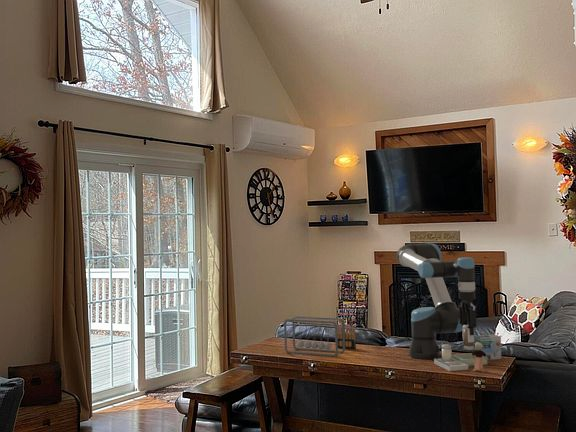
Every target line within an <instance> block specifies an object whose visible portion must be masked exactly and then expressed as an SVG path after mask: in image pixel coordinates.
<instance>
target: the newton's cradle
mask: <svg viewBox="0 0 576 432" xmlns="http://www.w3.org/2000/svg"><path fill="white" fill-rule="evenodd" d="M287 322H292V347H293V348H294V349H292V350H288V345H287V343H288V340H287V339H288V338H287ZM296 322H297V323H302V324H301V325H303V323H305V326H307V324H306V323H312V324H311V326H312V329H313V326H315V329H314V332H316V331H317V330H316V328H317V327H316V326H317V325H316V324H317V323H318V324H321V326H323V324H325V325H327V324H331V325H332V324H333V325H334V336H335V337H334V341H335V350H334V349H333V350H331V349H332V347H333V346H332V343H331V342H329V340H330V339H329V337H330V336H329V335H330V334H328V332H327V329H325V330H326V331H325V332H326V334H327V338H326V339H327V340H326V341H327V342H323V338H322V336H319V339H320V342H318V341H316V340H313V341H312V342H311V341H309V334H310V330H308V331H307V330H305V332H306V334H307V338H306V339H307V340H306V341H305V342H304V340H302V339H299V340H298V341H297V343H296V334H295V333H296V331H295V329H296V328H295V327H296V326H295V324H296ZM337 322H341V324H342V325H341V327H342V334H343V348H342V350H339V348H338V339H337V326H338V325H337ZM313 324H315V325H313ZM298 329H299V331H298V332H299V333H300V337H302V334H303V331H301V332H300V328H298ZM318 330H319V332H321V329H320V327H318ZM283 333H284V335H283V336H284V352H285V353H287V354H292V353H294V354H295V355H305V354H306V356H307V355H308V356H317V355H318V356H321V357H333V358H334V357H337V356H338V354H344V353H345V352H346V349H345V334H346V327H345V321H344V320H343V319H342V318H337V317H332V318H331V317H317V316H316V317H315V316H314V317H313V316H293V318H286V319H285V320H284V322H283ZM312 335H313V338H315V333H312ZM306 350H308V352H307V351H306ZM304 351H306V352H304ZM319 351H320V352H321V353H318V352H319ZM322 352H323V353H322ZM329 353H330V354H329ZM331 353H333V354H331ZM294 354H293V355H294Z"/></svg>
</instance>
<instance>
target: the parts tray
mask: <svg viewBox="0 0 576 432" xmlns="http://www.w3.org/2000/svg"><path fill="white" fill-rule="evenodd" d="M472 353H473V352H471V353H470V352H469V353H468V352H467V353H456V354H455V353H454V354H452V358H454V359H456V360H458V361H460V362H463V363H465V364H467V365H468V367H473V366H474V367H475V355H474V357H473V358H471V355H472ZM482 357H483V356H482ZM487 365H488V360H486V359H485V357H483V366H487Z"/></svg>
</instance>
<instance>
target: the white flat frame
mask: <svg viewBox="0 0 576 432" xmlns="http://www.w3.org/2000/svg"><path fill="white" fill-rule="evenodd" d="M433 360H434V361H433V363H434V364H435V365H437V366H439V367H441V368H443V369H444V370H446V371H448V372H453V371H455V372H456V371H467V370H468V371H469V366H468V365H467V364H465V363H463V362H460V361H458V360H456V359H454V358H452V361H450V362H443V361H442V358H433Z"/></svg>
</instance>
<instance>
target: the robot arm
mask: <svg viewBox="0 0 576 432" xmlns="http://www.w3.org/2000/svg"><path fill="white" fill-rule="evenodd" d="M442 257H443V256H442V252H441V249H440V247H439V246H438V245H437V244H435V243H429V242H426V243H408V244H404V245H403V246H401V247H400V248H399V249H398V250H397V252H396V257H395V258H396V260H397V263H398V264H399V265H401V266H403V267H406V268H411V269H413V270H415V271H417V272H418V275H419V277H420V278H421V279H425V280H426V281H425V282H426V284H427V286H428V290H429V292H430V295H431V298H432V301H433V303H434V306H435V307H433V306H427V307H426V306H425V307H419V308H416V309H415V308H414V309H413V310H412V312H411V315H410V316H411V319H410V321H411V322H410V323H411V325H410V326H411V341H410V346H409V350H408V356H409V357H411V358H414V359H420V360H421V359H423V360H424V359H427V360H428V359H435V358H436V359H438V358H440V357H441V351H440V348H439V347H440V346H439V344H438V342H437V334H449V333H450V334H451V333H453V334H455V333H460V332H463V325H468V326H469V327H467V328H468V342H473V343H475V328H477V307H478V306H477V305H474V301H475V300H476V282H475V280H476V278H475V273H476V272H475V268H476V267H475V260H474V258H473V257H458V258H457V260H449V261H442ZM455 277H456V278H457V282H458V283H457V287H458V300H461V301H460V302H459V303H458V306H457V304H456V302H453V301H452V299H451V295H450V294H449V291H448V288H447V286H446V283H445V280H444V278H455ZM462 341H464V338H463V337H462Z"/></svg>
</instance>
